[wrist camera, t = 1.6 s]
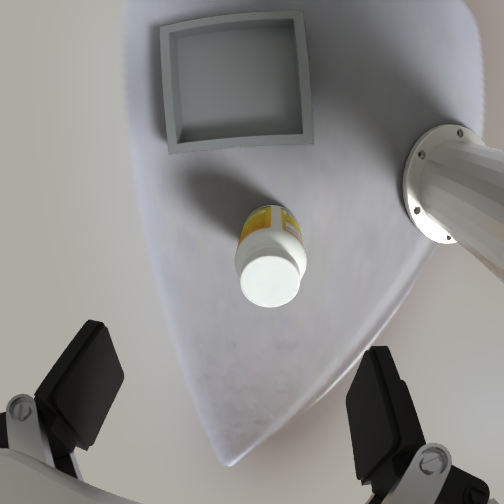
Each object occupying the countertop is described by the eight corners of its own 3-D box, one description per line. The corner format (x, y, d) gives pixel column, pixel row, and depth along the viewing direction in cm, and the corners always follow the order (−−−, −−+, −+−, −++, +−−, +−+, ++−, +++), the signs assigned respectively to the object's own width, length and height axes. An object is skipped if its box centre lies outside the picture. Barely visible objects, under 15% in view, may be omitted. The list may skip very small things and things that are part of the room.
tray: (299, 22, 19) (302, 10, 16) (308, 141, 24) (313, 144, 21) (170, 35, 20) (159, 27, 17) (179, 151, 25) (168, 154, 22)
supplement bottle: (304, 208, 26) (321, 253, 18) (292, 259, 29) (301, 320, 20) (247, 199, 26) (235, 239, 18) (239, 251, 29) (225, 309, 20)
